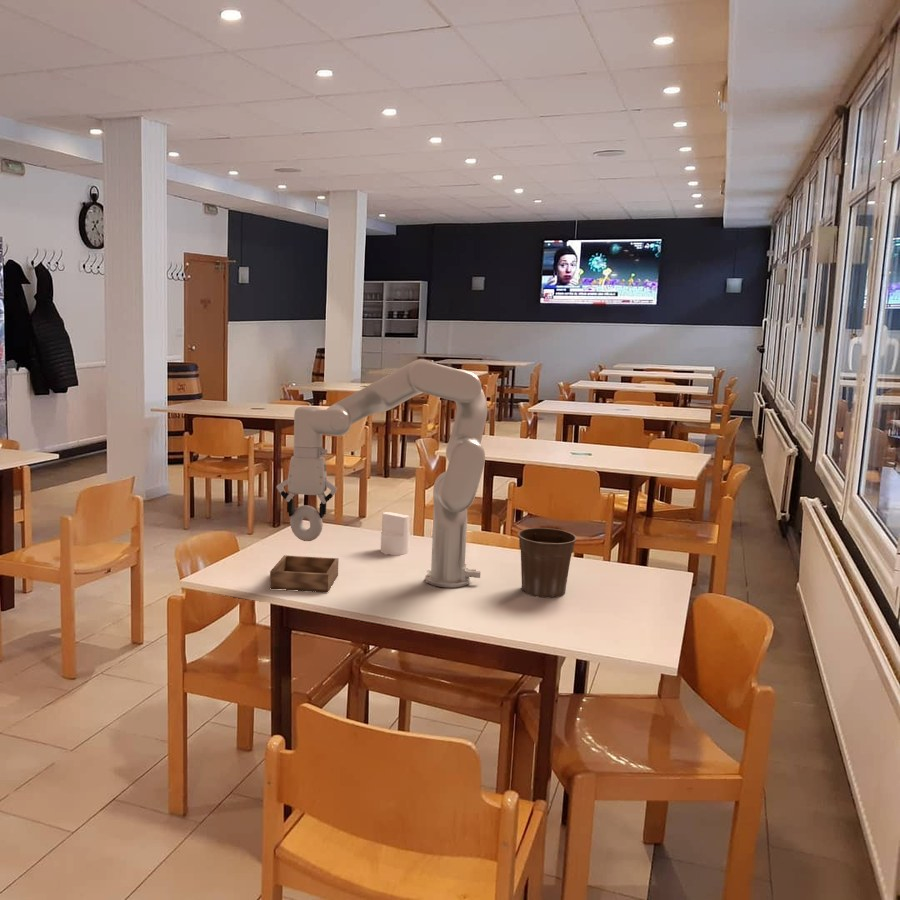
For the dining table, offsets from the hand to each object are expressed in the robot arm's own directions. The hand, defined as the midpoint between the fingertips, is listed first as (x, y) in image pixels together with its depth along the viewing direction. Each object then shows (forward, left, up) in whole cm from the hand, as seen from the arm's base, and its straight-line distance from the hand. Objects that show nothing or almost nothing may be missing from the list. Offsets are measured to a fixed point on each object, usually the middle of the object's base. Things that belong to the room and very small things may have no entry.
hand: (306, 515), depth 226 cm
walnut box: (0, 0, -19) cm, 19 cm away
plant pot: (-66, -4, -19) cm, 69 cm away
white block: (-21, -36, -19) cm, 46 cm away
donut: (0, 0, -7) cm, 7 cm away
